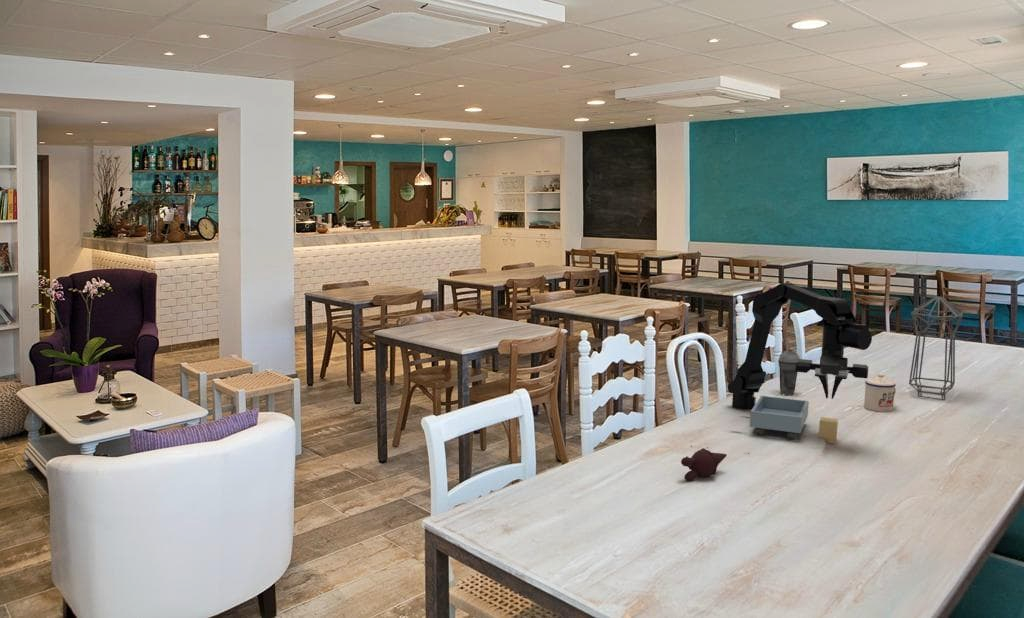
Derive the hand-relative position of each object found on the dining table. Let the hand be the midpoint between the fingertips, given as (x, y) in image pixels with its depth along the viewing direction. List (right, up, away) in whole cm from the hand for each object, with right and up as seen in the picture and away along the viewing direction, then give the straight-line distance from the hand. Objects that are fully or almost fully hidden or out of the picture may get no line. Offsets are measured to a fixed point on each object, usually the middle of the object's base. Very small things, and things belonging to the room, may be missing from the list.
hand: (829, 398), depth 224 cm
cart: (-12, -10, +7) cm, 17 cm away
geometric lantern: (+56, -5, +52) cm, 77 cm away
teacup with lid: (+31, -8, +36) cm, 49 cm away
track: (-15, -11, +9) cm, 21 cm away
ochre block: (0, -12, +2) cm, 12 cm away
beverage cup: (+7, -5, +54) cm, 54 cm away
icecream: (-42, -16, -27) cm, 53 cm away
